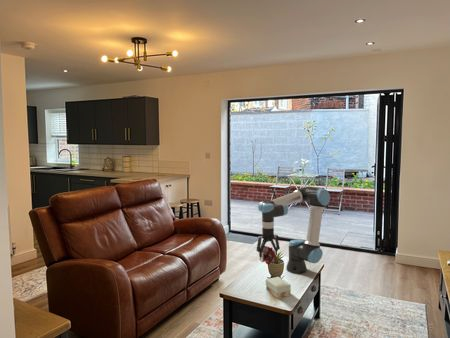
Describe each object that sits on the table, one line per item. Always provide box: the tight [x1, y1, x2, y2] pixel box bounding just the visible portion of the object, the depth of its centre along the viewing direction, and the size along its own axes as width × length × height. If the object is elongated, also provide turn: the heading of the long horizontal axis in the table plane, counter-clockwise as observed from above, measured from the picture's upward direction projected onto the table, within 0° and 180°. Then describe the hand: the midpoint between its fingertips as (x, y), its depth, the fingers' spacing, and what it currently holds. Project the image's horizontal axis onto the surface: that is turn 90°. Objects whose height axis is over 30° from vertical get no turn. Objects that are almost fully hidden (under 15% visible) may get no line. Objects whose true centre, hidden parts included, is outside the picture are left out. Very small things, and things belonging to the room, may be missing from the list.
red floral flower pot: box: [262, 245, 277, 265], centre depth 231 cm, size 7×12×10 cm, turn 39°
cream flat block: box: [265, 276, 292, 294], centre depth 228 cm, size 10×14×4 cm
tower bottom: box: [265, 285, 291, 299], centre depth 229 cm, size 10×14×4 cm
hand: (268, 260), depth 231 cm, fingers closed on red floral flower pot, 8 cm apart
